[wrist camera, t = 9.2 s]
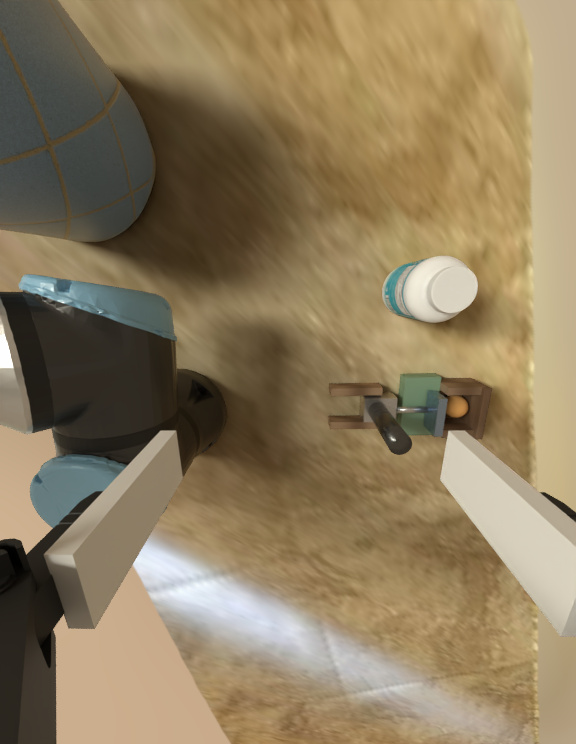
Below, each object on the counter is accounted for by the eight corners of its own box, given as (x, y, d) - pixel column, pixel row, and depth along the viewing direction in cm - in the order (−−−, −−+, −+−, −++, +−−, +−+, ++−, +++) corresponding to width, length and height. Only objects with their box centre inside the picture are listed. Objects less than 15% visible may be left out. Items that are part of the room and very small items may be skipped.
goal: (428, 424, 47) (443, 439, 43) (434, 378, 45) (451, 389, 40) (463, 424, 47) (482, 439, 43) (470, 378, 45) (491, 388, 40)
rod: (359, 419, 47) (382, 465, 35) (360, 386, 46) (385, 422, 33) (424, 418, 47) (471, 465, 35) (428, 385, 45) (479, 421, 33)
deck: (395, 429, 48) (399, 435, 46) (400, 373, 45) (405, 377, 43) (427, 429, 48) (433, 434, 46) (435, 373, 45) (441, 377, 43)
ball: (468, 415, 45) (444, 409, 47) (472, 395, 44) (447, 390, 46) (463, 423, 43) (438, 417, 45) (467, 401, 42) (441, 396, 44)
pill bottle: (440, 277, 41) (508, 272, 28) (413, 323, 43) (464, 338, 30) (396, 254, 40) (445, 237, 27) (370, 302, 42) (404, 308, 29)
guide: (328, 422, 48) (330, 428, 46) (329, 383, 46) (331, 388, 44) (375, 421, 48) (379, 428, 45) (378, 383, 46) (382, 388, 43)
